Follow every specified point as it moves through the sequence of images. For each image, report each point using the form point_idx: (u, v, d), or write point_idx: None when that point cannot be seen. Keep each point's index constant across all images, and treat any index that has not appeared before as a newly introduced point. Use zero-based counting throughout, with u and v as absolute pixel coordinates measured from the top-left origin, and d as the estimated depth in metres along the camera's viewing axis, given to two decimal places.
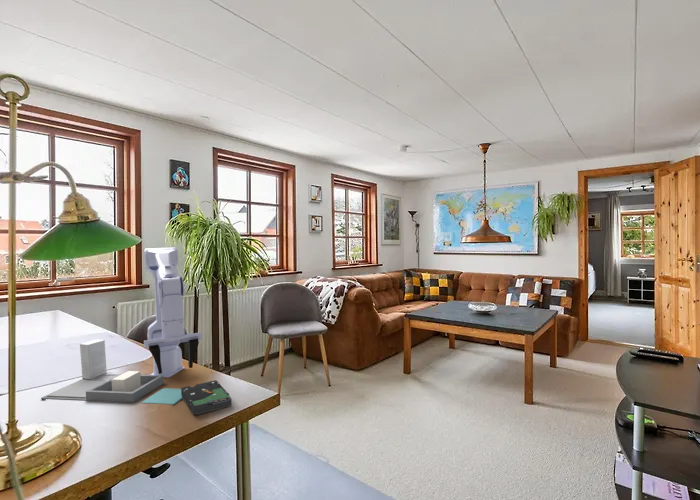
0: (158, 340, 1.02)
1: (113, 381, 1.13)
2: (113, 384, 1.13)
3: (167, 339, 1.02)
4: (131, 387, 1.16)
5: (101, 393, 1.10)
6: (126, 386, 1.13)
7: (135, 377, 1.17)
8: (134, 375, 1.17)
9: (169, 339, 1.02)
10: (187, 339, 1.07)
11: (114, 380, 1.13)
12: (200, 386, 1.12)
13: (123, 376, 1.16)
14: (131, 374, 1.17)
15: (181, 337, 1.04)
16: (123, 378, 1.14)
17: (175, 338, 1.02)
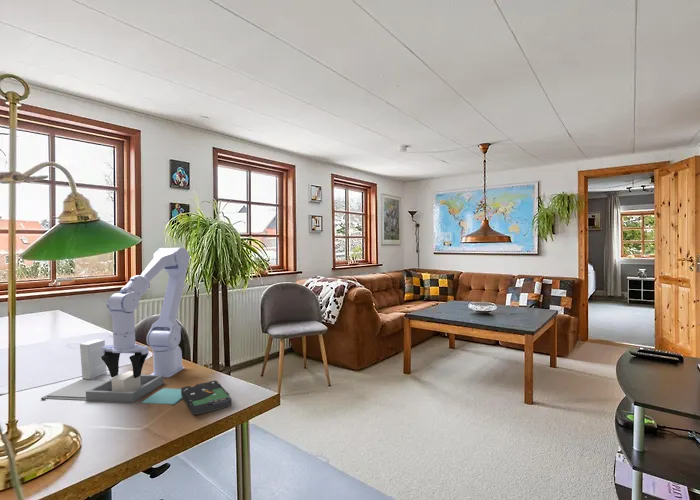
0: (108, 349, 1.14)
1: (113, 381, 1.13)
2: (113, 384, 1.13)
3: None
4: (131, 387, 1.16)
5: (101, 393, 1.10)
6: (126, 386, 1.13)
7: None
8: None
9: None
10: (134, 351, 1.15)
11: (114, 380, 1.13)
12: (200, 386, 1.12)
13: (123, 376, 1.16)
14: (131, 374, 1.17)
15: (123, 350, 1.13)
16: (123, 378, 1.14)
17: (114, 351, 1.12)
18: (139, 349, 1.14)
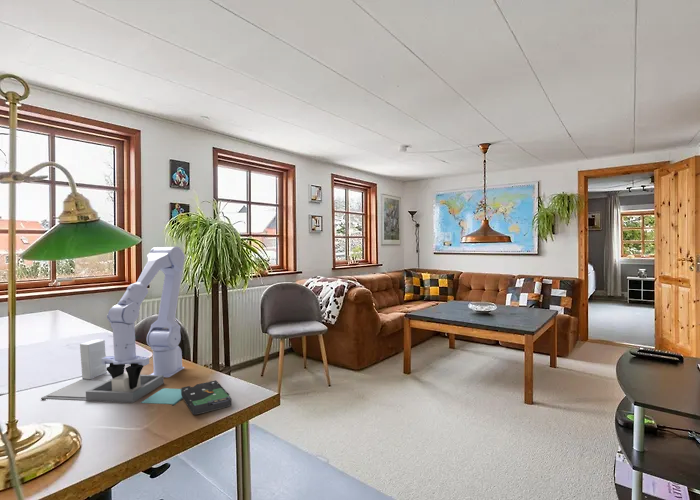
0: (109, 360, 1.15)
1: (113, 381, 1.13)
2: (113, 384, 1.13)
3: (113, 361, 1.14)
4: None
5: (101, 393, 1.10)
6: (126, 386, 1.13)
7: None
8: None
9: (114, 362, 1.13)
10: (135, 362, 1.15)
11: (114, 380, 1.13)
12: (200, 386, 1.12)
13: (123, 376, 1.16)
14: None
15: (123, 362, 1.13)
16: (123, 378, 1.14)
17: (115, 363, 1.12)
18: (140, 360, 1.14)
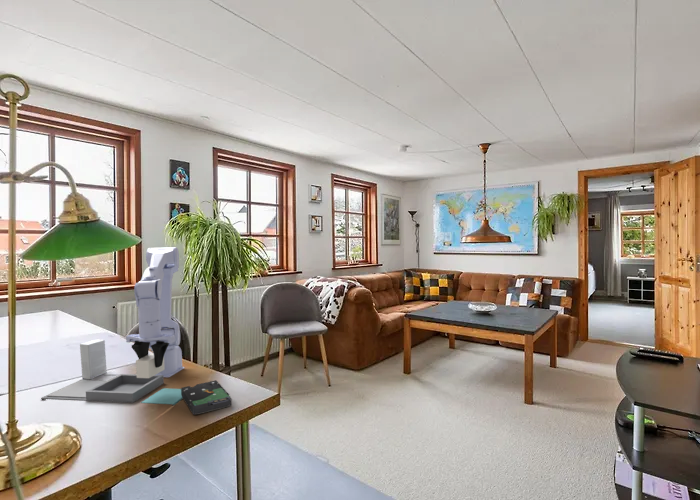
0: (134, 338, 1.12)
1: (137, 362, 1.09)
2: (137, 365, 1.09)
3: (138, 339, 1.11)
4: (156, 368, 1.12)
5: (101, 393, 1.10)
6: (151, 368, 1.10)
7: None
8: None
9: None
10: (160, 340, 1.12)
11: (138, 361, 1.09)
12: (200, 386, 1.12)
13: (148, 357, 1.12)
14: None
15: (149, 339, 1.10)
16: (147, 359, 1.10)
17: (141, 340, 1.09)
18: (165, 338, 1.11)
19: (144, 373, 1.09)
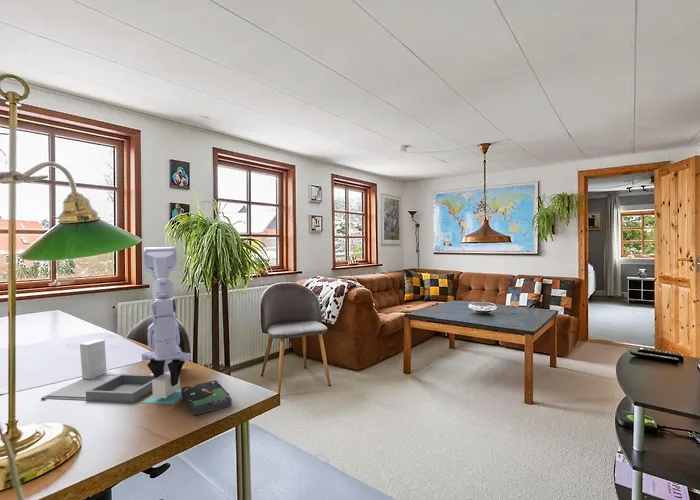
0: (149, 356, 1.10)
1: (154, 382, 1.08)
2: (154, 385, 1.08)
3: (154, 357, 1.09)
4: (172, 388, 1.11)
5: (101, 393, 1.10)
6: (167, 388, 1.09)
7: None
8: None
9: None
10: (176, 358, 1.11)
11: (155, 381, 1.08)
12: (200, 386, 1.12)
13: (163, 376, 1.11)
14: None
15: (165, 358, 1.09)
16: (164, 379, 1.09)
17: (157, 359, 1.08)
18: (182, 356, 1.10)
19: (160, 393, 1.08)
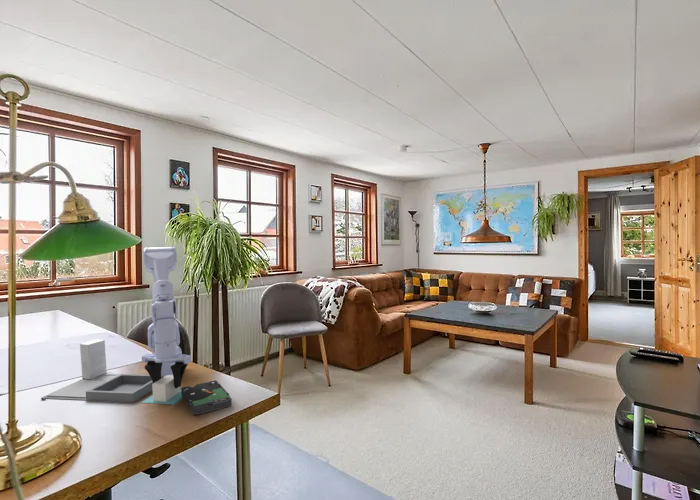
0: (150, 358, 1.10)
1: (154, 386, 1.08)
2: (154, 389, 1.08)
3: (154, 359, 1.09)
4: (172, 391, 1.11)
5: (101, 393, 1.10)
6: (167, 391, 1.09)
7: None
8: None
9: None
10: None
11: (155, 385, 1.08)
12: (200, 386, 1.12)
13: (164, 380, 1.11)
14: (171, 378, 1.12)
15: (165, 360, 1.09)
16: (164, 383, 1.09)
17: (157, 361, 1.08)
18: (182, 358, 1.10)
19: (160, 397, 1.08)
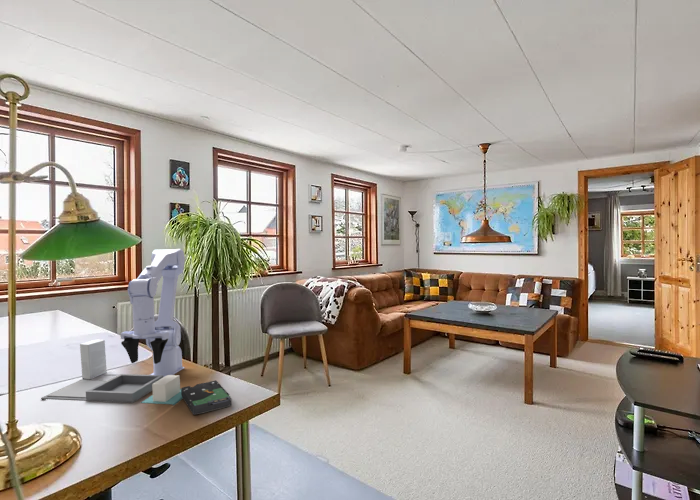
0: (128, 334, 1.14)
1: (154, 386, 1.08)
2: (154, 389, 1.08)
3: (133, 335, 1.13)
4: (172, 391, 1.11)
5: (101, 393, 1.10)
6: (167, 391, 1.09)
7: (175, 381, 1.13)
8: (174, 379, 1.12)
9: None
10: (154, 337, 1.15)
11: (155, 385, 1.08)
12: (200, 386, 1.12)
13: (164, 380, 1.11)
14: (171, 378, 1.12)
15: (143, 336, 1.12)
16: (164, 383, 1.09)
17: (135, 337, 1.11)
18: (160, 334, 1.13)
19: (160, 397, 1.08)
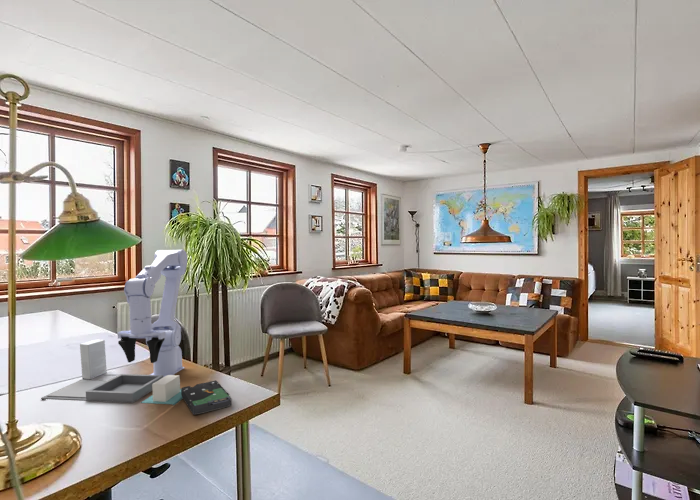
0: (125, 334, 1.15)
1: (154, 386, 1.08)
2: (154, 389, 1.08)
3: (129, 335, 1.14)
4: (172, 391, 1.11)
5: (101, 393, 1.10)
6: (167, 391, 1.09)
7: (175, 381, 1.13)
8: (174, 379, 1.12)
9: None
10: (151, 336, 1.15)
11: (155, 385, 1.08)
12: (200, 386, 1.12)
13: (164, 380, 1.11)
14: (171, 378, 1.12)
15: (140, 335, 1.13)
16: (164, 383, 1.09)
17: (132, 336, 1.12)
18: (156, 334, 1.14)
19: (160, 397, 1.08)
